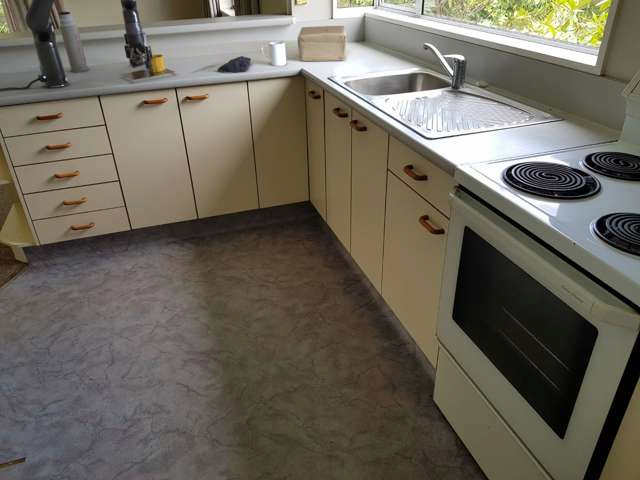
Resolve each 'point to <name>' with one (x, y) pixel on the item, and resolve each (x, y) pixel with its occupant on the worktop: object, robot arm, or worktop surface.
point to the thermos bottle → (72, 43)
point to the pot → (155, 63)
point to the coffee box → (138, 57)
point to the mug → (276, 53)
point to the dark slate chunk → (236, 65)
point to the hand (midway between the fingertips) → (141, 68)
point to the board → (145, 74)
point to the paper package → (322, 43)
